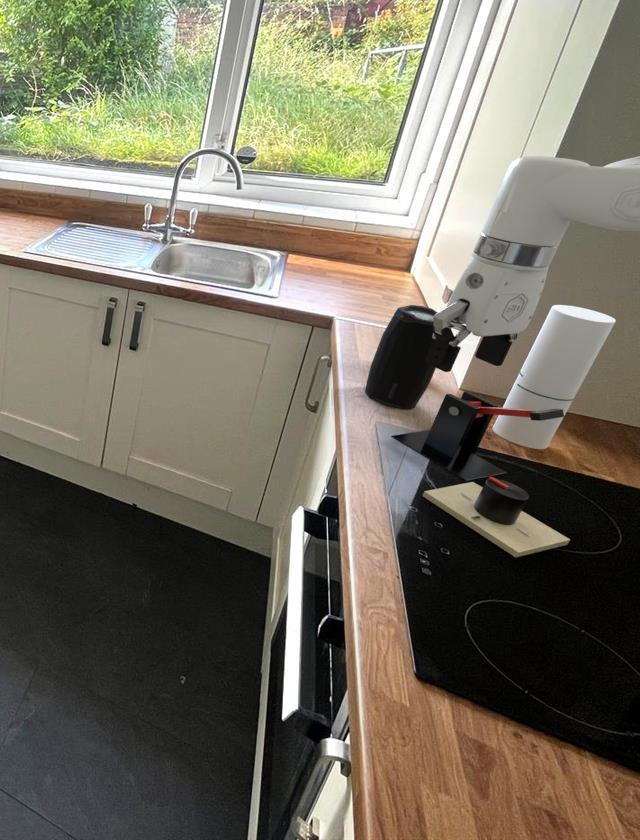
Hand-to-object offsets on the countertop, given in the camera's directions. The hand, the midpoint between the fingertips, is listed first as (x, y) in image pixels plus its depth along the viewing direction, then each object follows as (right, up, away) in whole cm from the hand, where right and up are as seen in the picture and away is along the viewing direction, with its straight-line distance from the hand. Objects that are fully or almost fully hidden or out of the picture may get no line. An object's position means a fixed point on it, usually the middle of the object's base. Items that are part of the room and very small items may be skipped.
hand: (462, 364), depth 84 cm
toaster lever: (+11, -9, +5) cm, 15 cm away
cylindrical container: (+28, -16, +19) cm, 37 cm away
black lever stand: (+9, -18, +13) cm, 24 cm away
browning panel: (+3, -23, -1) cm, 23 cm away
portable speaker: (+13, -11, +30) cm, 34 cm away
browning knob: (+3, -21, -1) cm, 21 cm away
